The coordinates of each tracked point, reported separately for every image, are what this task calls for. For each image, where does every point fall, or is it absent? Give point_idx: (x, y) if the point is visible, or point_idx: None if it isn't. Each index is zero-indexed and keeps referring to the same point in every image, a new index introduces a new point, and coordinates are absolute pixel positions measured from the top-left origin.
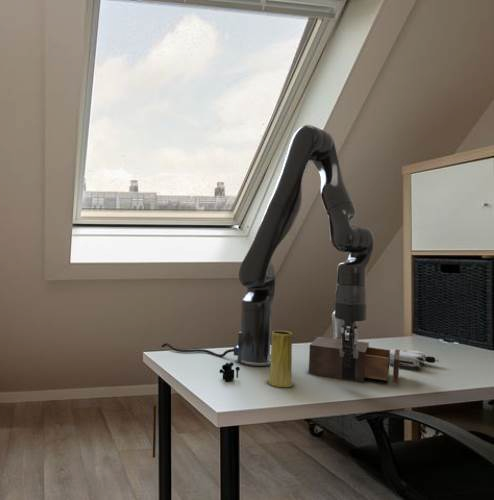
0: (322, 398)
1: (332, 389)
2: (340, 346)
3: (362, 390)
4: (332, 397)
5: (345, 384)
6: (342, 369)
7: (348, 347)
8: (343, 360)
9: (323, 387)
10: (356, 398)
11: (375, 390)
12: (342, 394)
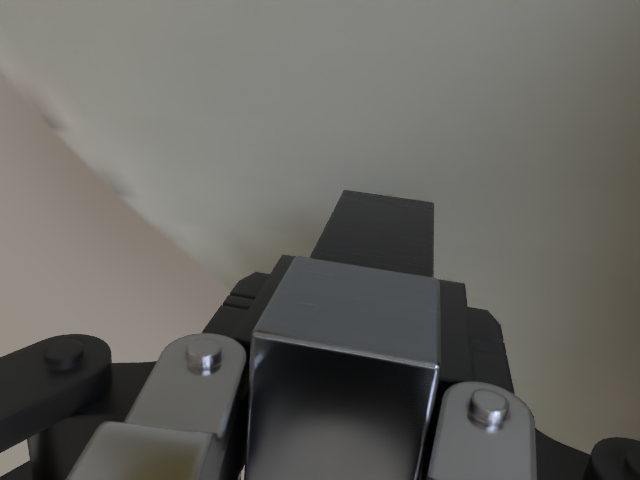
0: (40, 20)
1: (328, 92)
2: (324, 348)
3: None
4: (112, 94)
5: (547, 202)
6: (328, 227)
7: (303, 468)
8: (265, 282)
9: (350, 11)
10: (194, 254)
11: None
12: (232, 167)
